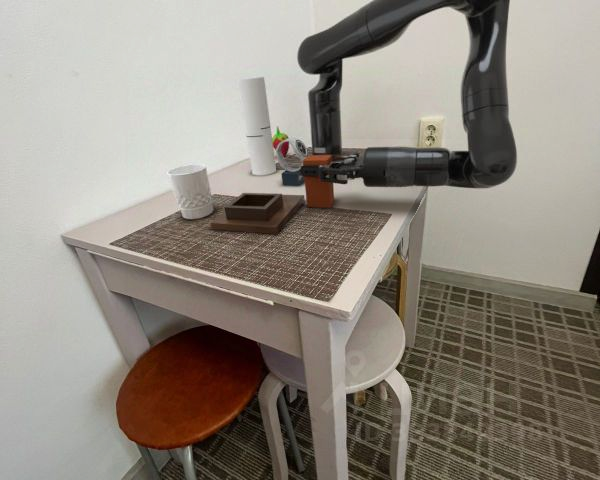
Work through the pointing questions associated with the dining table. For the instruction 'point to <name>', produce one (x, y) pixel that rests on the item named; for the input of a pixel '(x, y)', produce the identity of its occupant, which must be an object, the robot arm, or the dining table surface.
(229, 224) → the brown square tray
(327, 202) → the brown rectangular block
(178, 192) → the white cup
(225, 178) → the dining table surface
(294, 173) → the watch
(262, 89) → the cylindrical container
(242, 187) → the dining table surface
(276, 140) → the strawberry
